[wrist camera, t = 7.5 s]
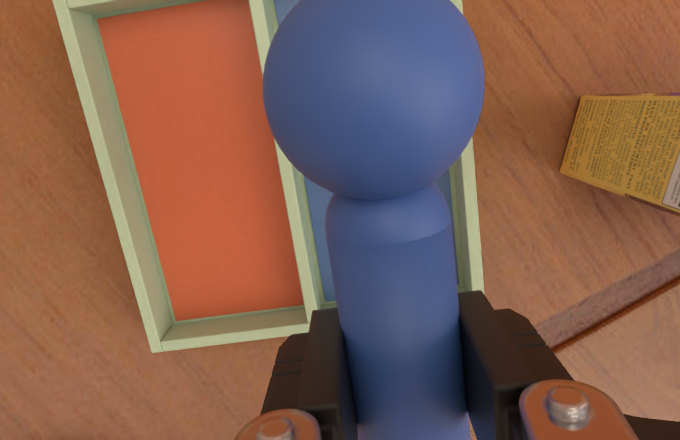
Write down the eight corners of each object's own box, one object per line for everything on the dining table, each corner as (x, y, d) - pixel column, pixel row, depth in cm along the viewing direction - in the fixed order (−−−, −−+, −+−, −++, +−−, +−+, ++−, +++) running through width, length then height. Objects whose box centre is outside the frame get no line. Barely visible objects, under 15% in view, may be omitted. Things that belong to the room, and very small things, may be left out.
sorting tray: (168, 330, 27) (151, 353, 25) (82, 5, 23) (50, -5, 20) (473, 291, 26) (485, 312, 24) (444, -57, 22) (456, -74, 19)
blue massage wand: (488, 472, 12) (543, 628, 9) (347, 487, 12) (345, 643, 9) (450, -20, 9) (510, -86, 6) (265, 10, 9) (213, -35, 6)
